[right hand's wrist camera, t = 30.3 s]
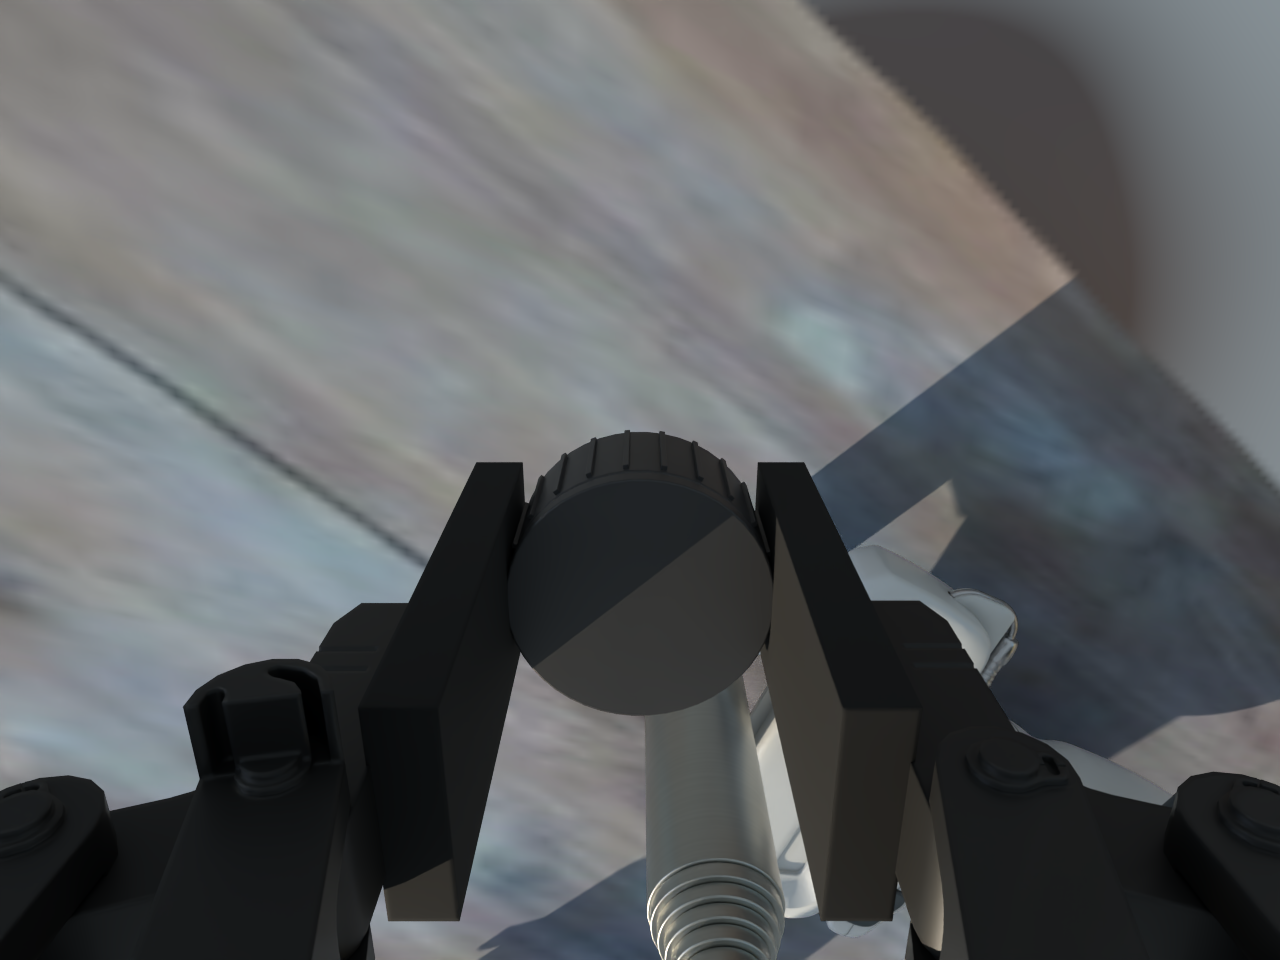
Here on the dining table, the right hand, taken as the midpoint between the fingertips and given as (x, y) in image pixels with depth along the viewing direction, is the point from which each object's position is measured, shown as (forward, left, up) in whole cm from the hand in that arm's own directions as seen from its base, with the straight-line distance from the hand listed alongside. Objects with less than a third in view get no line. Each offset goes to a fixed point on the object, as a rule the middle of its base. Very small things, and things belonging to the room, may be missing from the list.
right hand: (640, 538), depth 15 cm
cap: (0, 0, +2) cm, 2 cm away
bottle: (+18, +7, -29) cm, 35 cm away
